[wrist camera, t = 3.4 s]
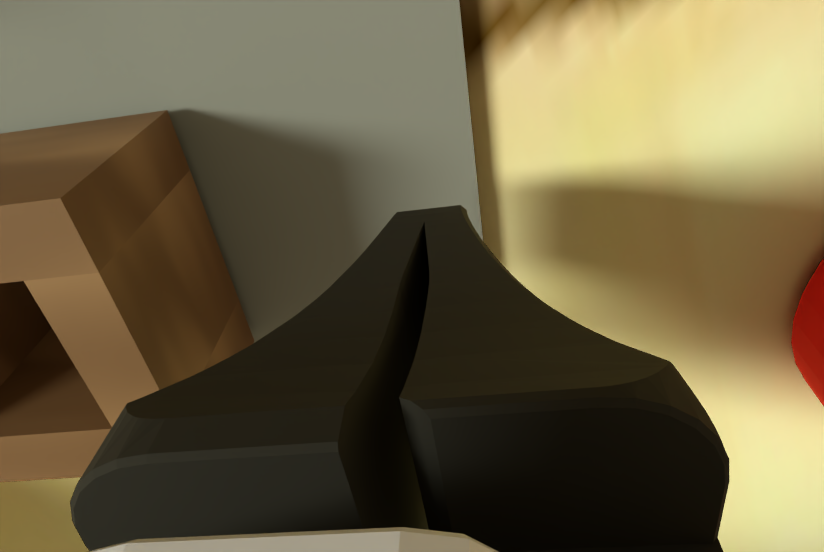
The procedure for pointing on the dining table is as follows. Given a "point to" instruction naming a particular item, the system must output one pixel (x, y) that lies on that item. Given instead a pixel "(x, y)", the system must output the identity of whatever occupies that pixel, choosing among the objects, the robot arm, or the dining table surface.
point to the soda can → (811, 333)
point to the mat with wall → (266, 117)
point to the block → (101, 285)
